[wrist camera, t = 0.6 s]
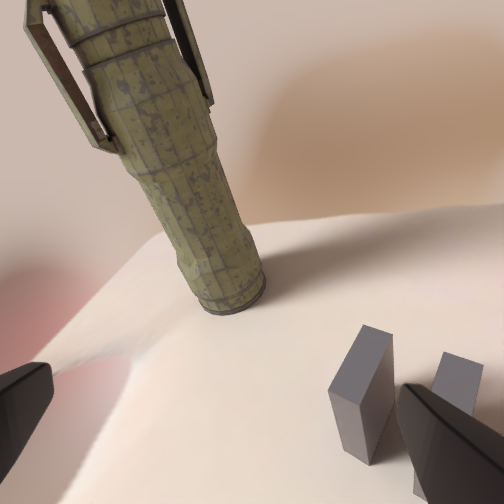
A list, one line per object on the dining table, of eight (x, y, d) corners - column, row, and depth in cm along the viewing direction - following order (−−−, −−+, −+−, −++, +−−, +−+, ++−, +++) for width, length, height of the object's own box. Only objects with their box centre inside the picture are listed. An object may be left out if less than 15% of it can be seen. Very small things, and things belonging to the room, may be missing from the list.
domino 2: (466, 434, 20) (483, 365, 16) (447, 514, 18) (461, 458, 13) (435, 420, 22) (443, 351, 17) (413, 493, 19) (415, 435, 14)
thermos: (176, 309, 39) (-64, -77, 19) (238, 253, 45) (105, -86, 25) (223, 337, 33) (-50, -178, 13) (287, 268, 39) (165, -157, 19)
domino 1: (395, 401, 23) (392, 334, 19) (369, 465, 21) (359, 406, 16) (371, 390, 24) (363, 324, 20) (343, 449, 22) (327, 390, 17)
